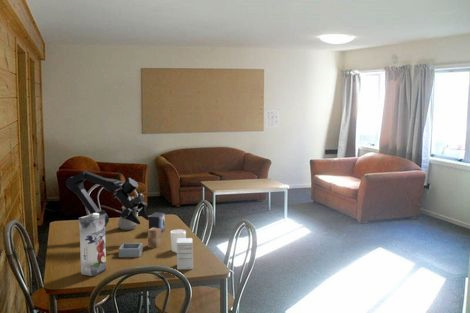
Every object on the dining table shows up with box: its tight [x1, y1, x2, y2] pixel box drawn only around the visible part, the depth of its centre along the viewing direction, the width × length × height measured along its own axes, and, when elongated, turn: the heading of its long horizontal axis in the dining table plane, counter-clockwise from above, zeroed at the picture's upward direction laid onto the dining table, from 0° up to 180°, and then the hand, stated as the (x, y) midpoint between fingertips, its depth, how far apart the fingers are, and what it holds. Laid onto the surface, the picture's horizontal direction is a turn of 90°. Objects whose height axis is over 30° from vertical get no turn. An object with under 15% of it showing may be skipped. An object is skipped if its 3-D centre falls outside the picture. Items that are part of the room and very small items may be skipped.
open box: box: [118, 242, 144, 258], centre depth 249 cm, size 10×10×4 cm
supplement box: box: [176, 237, 194, 270], centre depth 230 cm, size 7×7×13 cm
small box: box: [148, 211, 166, 234], centre depth 287 cm, size 11×6×10 cm, turn 169°
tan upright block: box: [147, 228, 162, 249], centre depth 262 cm, size 5×5×9 cm
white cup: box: [170, 228, 187, 253], centre depth 254 cm, size 8×8×10 cm
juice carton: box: [78, 213, 107, 277], centre depth 221 cm, size 9×10×27 cm
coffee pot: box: [99, 204, 138, 231], centre depth 293 cm, size 21×12×15 cm, turn 105°
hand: (144, 221), depth 263 cm, fingers open, 9 cm apart
